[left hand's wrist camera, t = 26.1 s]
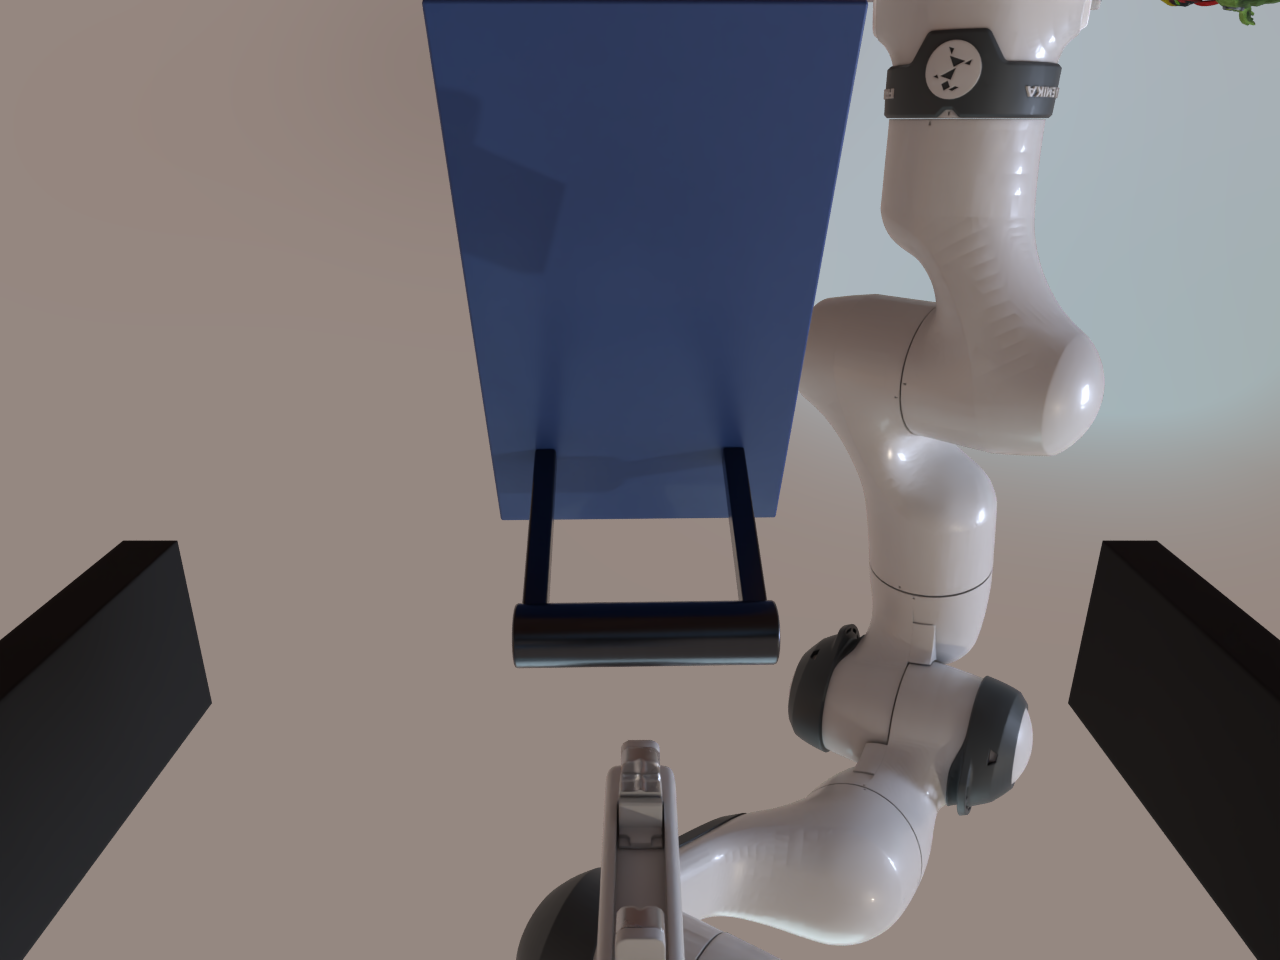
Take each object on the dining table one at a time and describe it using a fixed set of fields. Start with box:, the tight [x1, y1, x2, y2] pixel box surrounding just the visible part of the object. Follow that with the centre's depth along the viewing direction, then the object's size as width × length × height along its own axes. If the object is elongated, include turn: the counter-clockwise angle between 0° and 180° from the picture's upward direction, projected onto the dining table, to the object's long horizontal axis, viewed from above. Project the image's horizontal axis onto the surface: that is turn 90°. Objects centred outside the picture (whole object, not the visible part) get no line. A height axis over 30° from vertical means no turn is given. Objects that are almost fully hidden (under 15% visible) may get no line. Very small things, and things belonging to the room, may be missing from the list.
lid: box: [422, 0, 868, 668], centre depth 23 cm, size 17×10×9 cm
